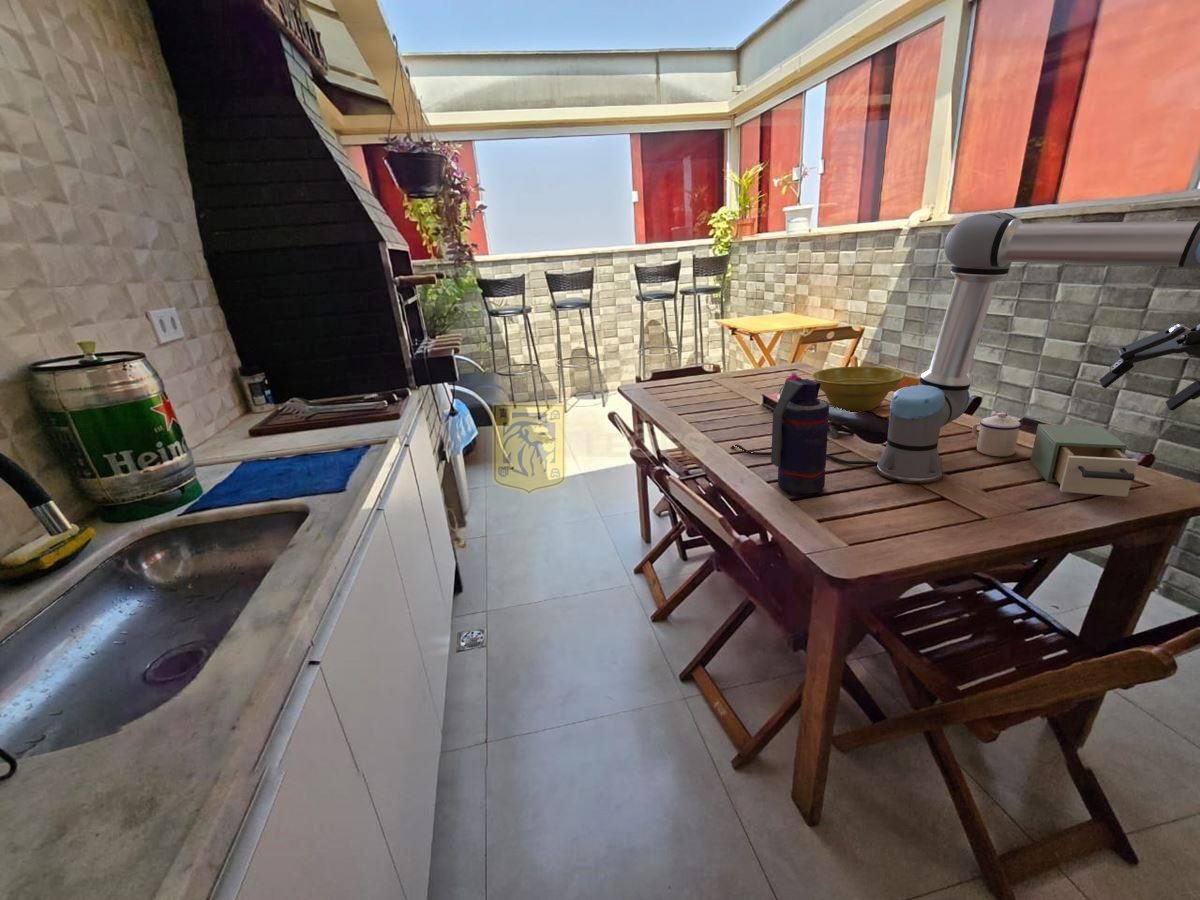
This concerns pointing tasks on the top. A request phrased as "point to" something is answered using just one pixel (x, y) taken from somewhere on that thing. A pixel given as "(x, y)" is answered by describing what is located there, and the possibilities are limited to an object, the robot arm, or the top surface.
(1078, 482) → the drawer
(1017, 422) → the teacup with lid
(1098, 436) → the cabinet
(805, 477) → the grenade
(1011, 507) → the top surface
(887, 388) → the planter bowl
